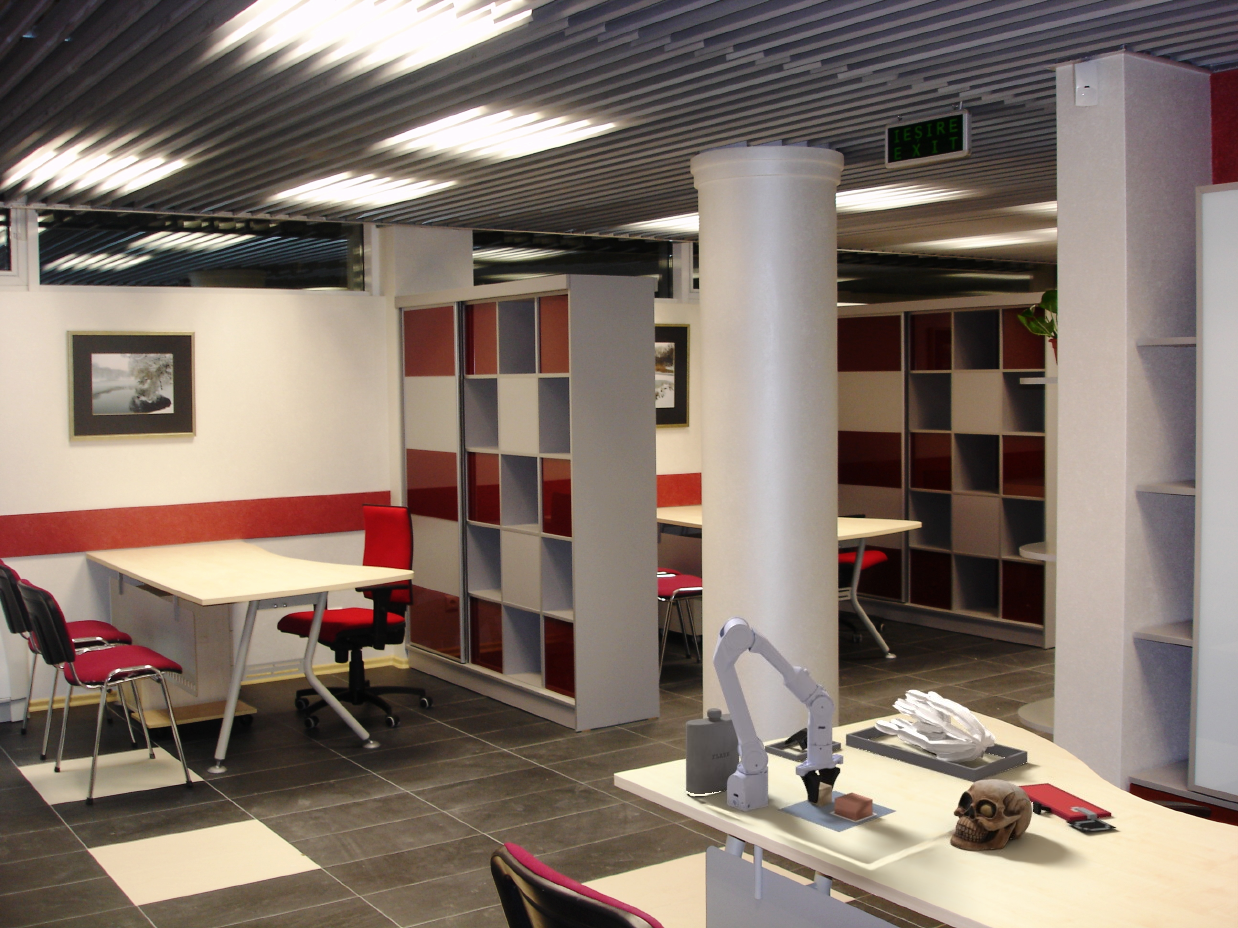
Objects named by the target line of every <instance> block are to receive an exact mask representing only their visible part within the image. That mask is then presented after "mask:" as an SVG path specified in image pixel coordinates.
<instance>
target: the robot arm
mask: <svg viewBox="0 0 1238 928" xmlns="http://www.w3.org/2000/svg"><path fill="white" fill-rule="evenodd" d="M750 627H751V628H750ZM718 631H719V632H718V638H717V640H716V644H715V648H714V651H713V656H712V663H713V666H714V670H715V673H716V675H717V679H718V681H719V686H720V687H721V690H722V695H723V697H724V701H725V703H726V706H727V709H728V712H729V713H728V714H730V716H731V719H732V722H733V725H734V728H735V731H736V735H737V738H738V754H739V759H740V760H739V764H738V765H737V770H736V772H735V773H734V774H732V775H731V776H730V777H729V778H728V781H727V791H726V805H727V806H729V807H731V808H734V809H737V810H740V811H743V812H749V811H751V810H755V809H760V808H764V807H767V806H768V804H769V766H768V764H769V755H768V752H766V751H765V745H764V742H763V740H761V738H760V737H759V736H757V733H756V732H757V731H756V730H755V726H754V723H753V720H752V718H751V717H752V716H751V713H750V710H749V707H748V705H747V701H746V699H745V695H744V693H743V692H744V691H743V690H742V686H741V683H740V680H739V677H738V673H737V670H736V668H735V664H736V663H737V661H738V659H739V658H740V656H741V655H742V654H743V653H745V651H747V650H748V652H749V653H752V654H760V655H761V657H763V658H764V659H765V660H766V661H767V662H768V663H769V664H770V665H771V666H772V667H774V668H775V670H776V671H778V672H779V674H781V676H782V677H783V678H782V684H783V685H784V686H785V687H786V688H787V689H788V690H789V692H790V693H791V694H793V695H794V696H795V698H796V699H797V700H798V701H799V702H800V703H801V704H804V705H805V706H806V708H807V709H808V713H807V714H808V716H807V717H808V718H807V719H808V721H807V729H808V739H807V749H806V752H807V759H805V760H803V762H801V763H800V764H799V765H796V766H795V776H796V775H797V776H799V777H800V779H801V780H802V783H803V785H804V787H805V790H806V794H807V795H808V799H809V801H810V802H813V803H817V802H818V796H819V786H820V782H822V783H825V784H828V785H831V786H832V791H834V786H835V783H836V781H837V778H838V777H839V775H840V774H841V767H839V766H836V765H843V764H844V755H842V754H838V753H835V754H833V751H832V741H833V721H832V720H833V715H834V713H835V710H836V707H835V703H834V700H833V699H832V697H831V696H830V695H829V693H828V692H827V690H826V689H825V688H824V686H823V685H822V684H818V683H817V681H815V680H814V678H812V676H811V675H810V674H811V672H810V670H808V669H807V668H803V667H802V666H797V665H793V664H791V663H790V662H789V661H788V659H787V658H786V657H785V656H784V655H782V653H781V652H780V651H779V650H778V649H777V648H776V647H775V646H774V644H772V643H771V642H770V640H769V639H768V638H767V637H766V636H764V634H762V633H761V631H759V630H758V629H757V628H755V627H754V626H753V625H750V624H749V622H748V621H747V620H746V619H745V618H743V617H740V616H732V617H730V618H729V619H727V620H726V621H725V622H724V624H723V625H722V627H721V628H720V629H719V630H718ZM817 771H818V773H817Z"/></svg>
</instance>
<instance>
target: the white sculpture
mask: <svg viewBox="0 0 1238 928" xmlns="http://www.w3.org/2000/svg"><path fill="white" fill-rule="evenodd" d="M905 692H906V693H905V696H906V698H904V699H903V698H900V697H899V698H897V700H896V701H895V702H894V704H892V707H894V709H896V710H897V711H898V712H900V714H902V715H906V716H908V717H911V718H912V719H914V720H915V722H914V723H909V722H908V721H909V720H906V719H904V718H899V717H897V718H892V719H891V720H889V721H885V720H881V719H879V720H877V721H875V722H874V723H875V724H874V726H875V727H876V728H877V729H878V730H880V731H882V732H884V733H887V734H886V735H891V736H892V735H893V736H894V735H897V737H898V738H899V739H900V740H901V741H903V742H905V741H906V743H908V744H911V745H914V746H919V747H921V749H922V750H924V751H927V752H930V753H933V754H935V755H936V756H935V758H937V759H940V760H944V761H947V762H951V763H955V764H958V763H964V762H973V761H974V760H975V759H976V758H981V759H983V758H984V755H985V753H984V752H985V750H986V749H987V747H991V746H994V743H996V736H995V734H993V733H992V732H991V731H990V730H988V729H987V728H986V726H984V725H983V724H982V723H981V722H980V721H979V719H978V718H977V717H976V716H975V714H972V713H971V711H970V709H969V708H968V707H966V706H964V705H961V704H960V703H958V702H955V701H953V700H952V699H951V700H950V699H949V698H944V697H943V696H941V695H940V694H938V693H937V692H935V691H932V690H931V691H928V692H927V693H925V692H922V691H920V690H917V689H910V690H905ZM951 716H952V717H951ZM951 718H953V719H954V720H955V721H956V722H957V723H958V724H959V725H961V726H962V727H964V729H965V730H966V731H965V730H964V729H962V728H960V727H958V726H956V725H954V724H952V719H951ZM889 722H891V723H889ZM899 728H902V729H899ZM952 738H953V739H952Z"/></svg>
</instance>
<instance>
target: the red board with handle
mask: <svg viewBox="0 0 1238 928" xmlns="http://www.w3.org/2000/svg"><path fill="white" fill-rule="evenodd" d="M1017 786H1018V787H1020V788H1022V789H1023V790H1024V791H1025V792H1026V793H1027V795H1028V797H1029V799H1030V801H1031V803H1032V802H1033V803H1032V813H1033V812H1034V814H1035V815H1037V816H1038V815H1041V816H1042V811H1043V812H1048V813H1051V814H1053V815H1056V816H1058V817H1060V818H1061V819H1063V820H1065V823H1067V824H1069V825H1071V826H1073V827H1075V828H1077V829H1078V830H1081V831H1083V832H1085V833H1086V832H1093V831H1102V830H1103V831H1105V830H1112V829H1117V826H1114V825H1112V824H1110V823H1108V822H1106V821H1104V820H1101V819H1103V818H1104V819H1105V818H1111V817H1112V812H1111V811H1108V810H1106V809H1104V808H1102V807H1100V806H1098V805H1096V804H1094V803H1091V802H1089V801H1087V800H1085V799H1083V798H1081V797H1078V796H1076V795H1074V794H1072V793H1070V792H1068V791H1065V790H1063V789H1061V788H1059V787H1057V786H1055V785H1053V784H1051V783H1048V782H1045V783H1036V784H1026V785H1017Z"/></svg>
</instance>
